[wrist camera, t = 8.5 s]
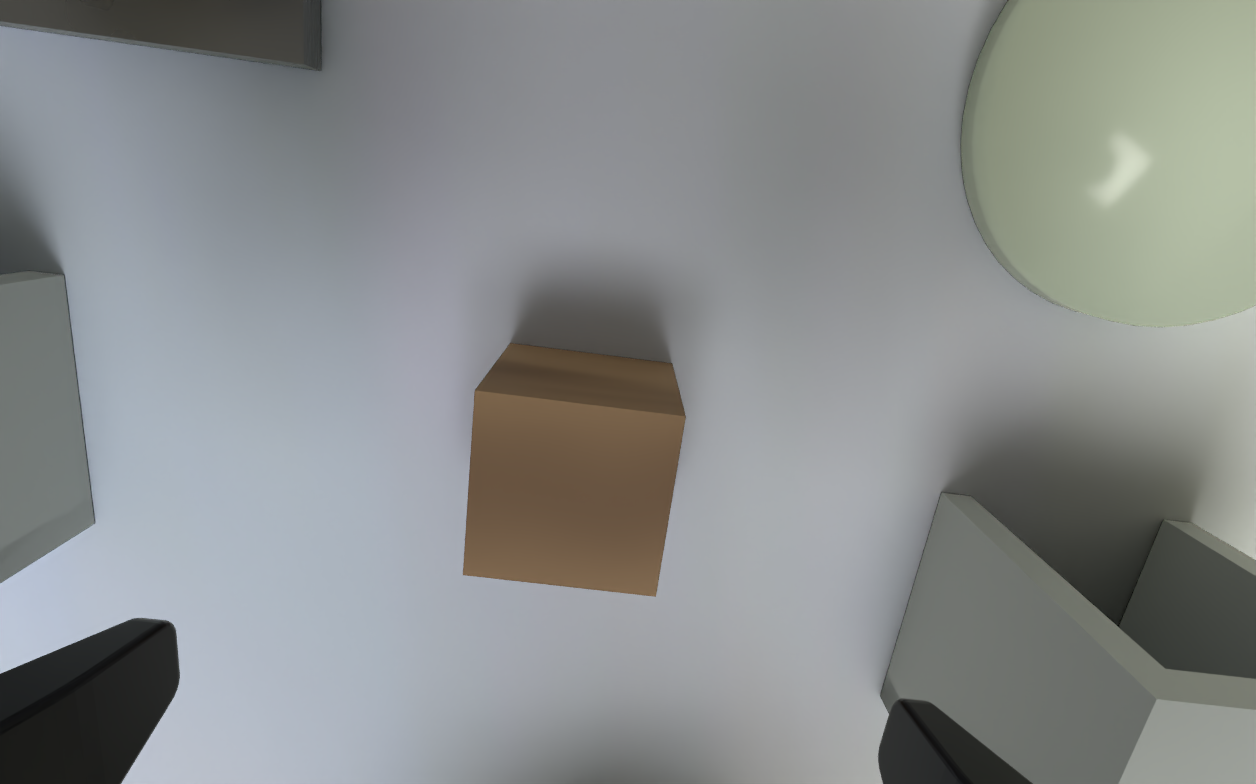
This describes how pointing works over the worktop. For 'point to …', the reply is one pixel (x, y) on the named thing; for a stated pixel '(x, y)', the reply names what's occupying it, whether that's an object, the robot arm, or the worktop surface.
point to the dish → (1119, 155)
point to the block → (572, 469)
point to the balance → (185, 25)
